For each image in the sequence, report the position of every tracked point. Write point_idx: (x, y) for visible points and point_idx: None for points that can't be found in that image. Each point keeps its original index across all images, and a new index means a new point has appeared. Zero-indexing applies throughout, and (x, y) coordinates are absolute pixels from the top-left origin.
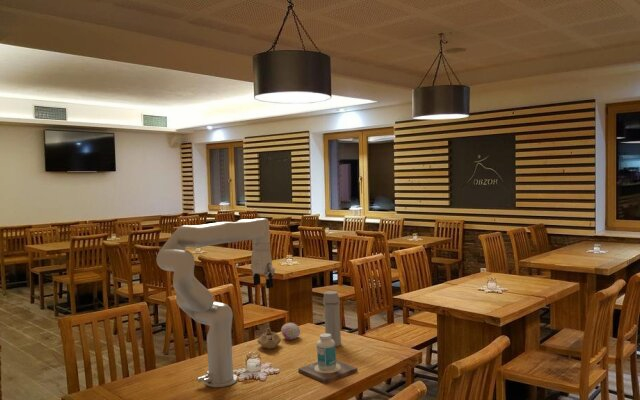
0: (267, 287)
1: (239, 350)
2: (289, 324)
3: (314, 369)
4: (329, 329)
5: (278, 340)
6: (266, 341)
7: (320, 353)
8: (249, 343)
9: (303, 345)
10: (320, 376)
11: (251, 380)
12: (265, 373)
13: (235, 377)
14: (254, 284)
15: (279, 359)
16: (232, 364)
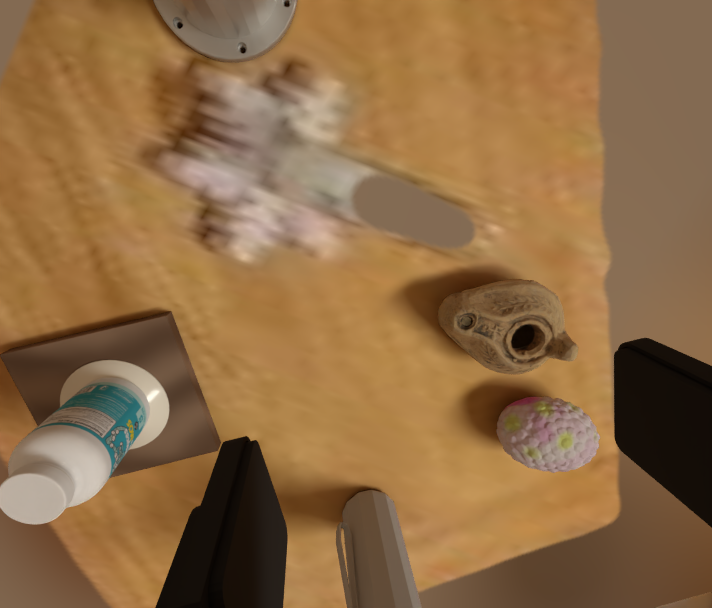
0: (227, 457)
1: (541, 197)
2: (560, 448)
3: (121, 361)
4: (360, 548)
5: (472, 355)
6: (471, 301)
7: (54, 413)
8: (589, 264)
9: (429, 426)
10: (41, 353)
11: (173, 112)
12: (222, 195)
13: (202, 43)
14: (631, 347)
15: (341, 299)
16: (181, 1)
